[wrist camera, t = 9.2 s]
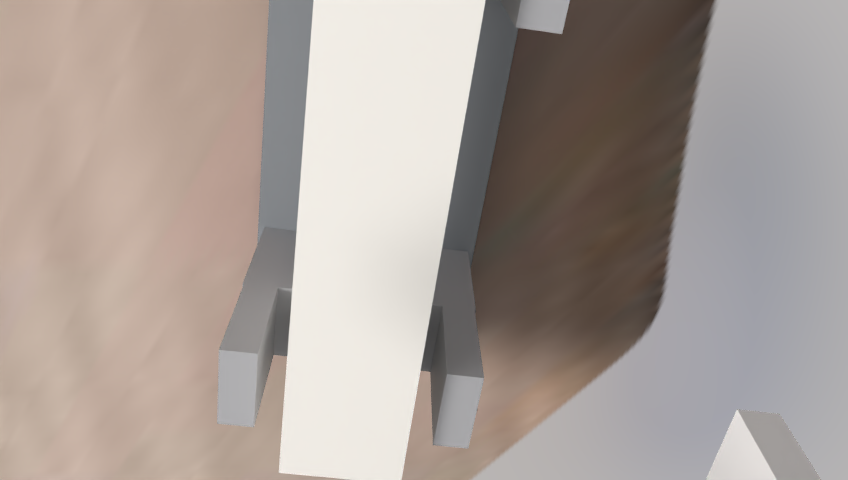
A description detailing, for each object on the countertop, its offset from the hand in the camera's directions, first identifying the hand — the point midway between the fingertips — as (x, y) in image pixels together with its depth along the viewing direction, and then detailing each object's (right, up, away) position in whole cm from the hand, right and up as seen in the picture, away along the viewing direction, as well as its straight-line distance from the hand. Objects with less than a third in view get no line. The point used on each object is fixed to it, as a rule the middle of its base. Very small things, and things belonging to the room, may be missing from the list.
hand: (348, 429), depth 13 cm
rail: (0, +6, +12) cm, 13 cm away
